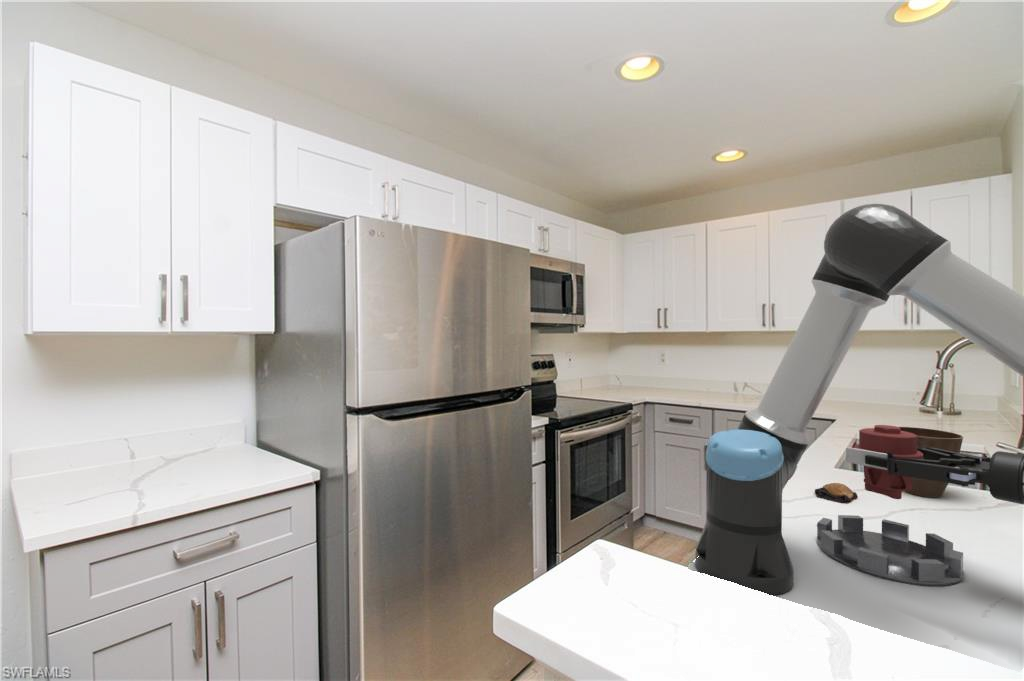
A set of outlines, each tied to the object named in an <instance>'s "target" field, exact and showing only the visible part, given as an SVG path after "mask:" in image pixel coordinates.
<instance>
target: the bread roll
mask: <svg viewBox="0 0 1024 681" xmlns="http://www.w3.org/2000/svg"><path fill="white" fill-rule="evenodd" d="M814 493H815V497H816V498H817V499H821V500H826V501H830V502H834V503H839V504H846V505H849V504H851V503H852V502H854V501H855V500H857V499H858V497H859V496H858V494H857V493H856V492H855V491H853V490H852V489H851V488H850V487H849V486H847V485H846V484H843V483H838V482H831V483H828V484H827V483H826V484H824V485H823V486H822V487H820V488H815V489H814Z"/></svg>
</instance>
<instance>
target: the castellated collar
mask: <svg viewBox="0 0 1024 681" xmlns="http://www.w3.org/2000/svg"><path fill="white" fill-rule="evenodd" d="M837 517H838V518H837V529H833V519H831V518H827V517H822V518H821V519H820V520H819V521H818V522H817V523H816V525H817V526H816V527H817V528H816V529H817V531H816V532H817V534H816V538H817V539H816V544H817V546H818V548H819V549H820V550H821V552H823V553H824V554H825V555H826V556H828V557H829V558H831V559H833V560H834V561H836V562H839V563H840V564H842V565H845V566H846V567H849V568H851V569H853V570H856V571H858V572H862V573H863V574H864V573H865V574H867V575H870V576H874V577H878V578H880V579H884V580H888V581H891V582H897V583H903V584H908V585H914V586H915V585H916V586H921V587H922V586H924V587H925V586H926V587H949V586H953V585H956V584H957V585H958V584H959V583H961V582H962V581H963V580H964V575H965V574H964V552H963V551H959V550H954V542H952V541H950V540H948V539H946V538H944V537H942V536H939V535H938V534H936V533H928V532H927V533H925V545H924V544H922V543H919V542H916V541H913V540H910V525H909V524H906V523H902V522H897V521H894V520H889V519H885V518H883V519H882V520H881V532H876V531H869V530H864V518H863V517H862V516H860V515H850V514H848V515H847V514H845V515H843V514H838V515H837Z"/></svg>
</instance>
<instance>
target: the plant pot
mask: <svg viewBox="0 0 1024 681" xmlns="http://www.w3.org/2000/svg"><path fill="white" fill-rule="evenodd" d="M899 427H900V431H905V432H910V433H913V434H915V435H917V447H923V448H924V447H926V446H929V447H932V448H937V449H943V450H948V451H953V452H958V453H961V449H962V444H963V441H964V440H963V439H964V436H963V435H962V434H959V433H956V432H952V431H951V432H950V431H945V430H939V429H933V428H932V429H931V428H924V427H923V428H922V427H912V426H911V427H910V426H899ZM948 485H949V483H946V482H940V481H933V480H926V479H920V478H913V477H912V489H911V490H908V491H905V492H906V493H908V494H912V495H914V496H918V497H919V496H920V497H924V498H925V497H926V498H931V499H932V498H933V499H934V498H941V497H942V496H943V495H944V492H945V491H946V489H947V487H948Z"/></svg>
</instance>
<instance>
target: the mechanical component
mask: <svg viewBox="0 0 1024 681" xmlns="http://www.w3.org/2000/svg"><path fill="white" fill-rule="evenodd" d="M900 427H901V426H894V425H889V424H874V427H868V428H866V427H865V428H862V429H859V430H858V435H859V436H858V439H859V440H858V444H854V445H853V448H856V449H862V450H868V451H874V452H880V453H885V454H887V452H892V453H893V456H894V457H904V458H915V459H923V453H922V452H920V451H917V435H915V434H913V433H910V432H905V431H900ZM897 468H898V465H897ZM863 475H864V476H863V477H864V478H863V482H864V490H866V491H867V492H871V493H876V494H878V495H882V496H883V495H884V496H885V497H889V498H891V499H893V500H901V499H902V497H903V496H902V492H906V491H908V490H911V489H912V477H906V476H900V475H891V474H888V473H887V470H884V469H879V468H874V467H869V466H864V465H863Z"/></svg>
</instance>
